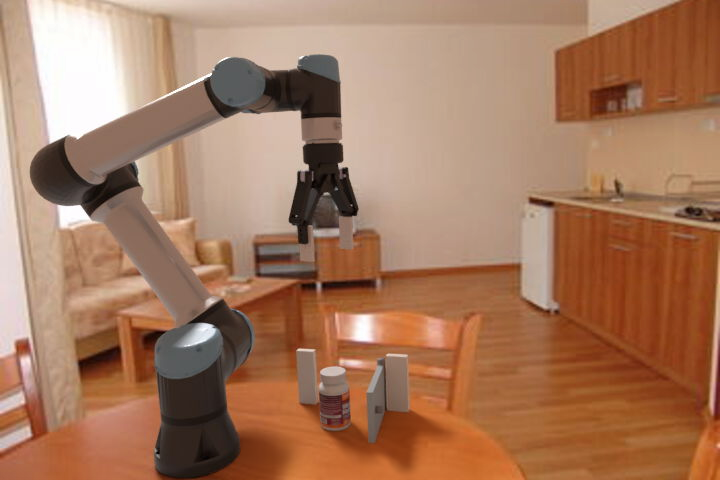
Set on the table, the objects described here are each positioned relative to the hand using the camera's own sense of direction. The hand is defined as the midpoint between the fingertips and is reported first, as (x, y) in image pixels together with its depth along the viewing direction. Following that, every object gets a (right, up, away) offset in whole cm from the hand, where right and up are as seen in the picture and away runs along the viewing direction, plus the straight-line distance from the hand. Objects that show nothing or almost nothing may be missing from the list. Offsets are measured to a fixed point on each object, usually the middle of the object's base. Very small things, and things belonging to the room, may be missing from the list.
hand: (328, 254), depth 108 cm
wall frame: (+5, -33, +13) cm, 36 cm away
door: (+10, -34, +5) cm, 36 cm away
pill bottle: (+1, -35, +5) cm, 35 cm away
